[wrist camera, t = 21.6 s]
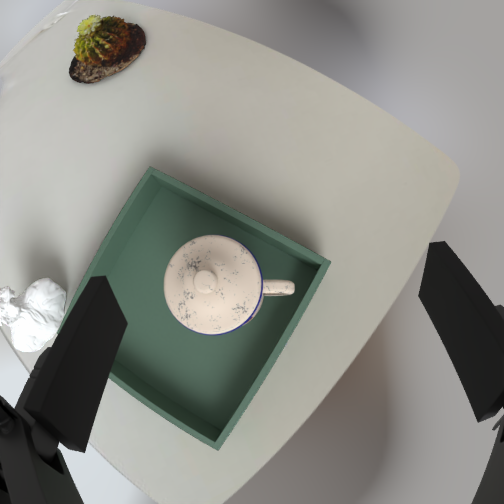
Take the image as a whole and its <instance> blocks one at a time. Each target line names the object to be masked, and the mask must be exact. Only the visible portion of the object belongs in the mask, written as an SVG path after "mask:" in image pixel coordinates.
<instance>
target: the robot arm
mask: <svg viewBox="0 0 504 504" xmlns="http://www.w3.org/2000/svg"><path fill="white" fill-rule="evenodd" d="M418 296H419V298H420V300H421V302H422V304H423V305H424V307H425V309H426V311H427V313H428V315H429V317H430V319H431V320H432V322H433V324H434V326H435V328H436V330H437V332H438V334H439V336H440V338H441V340H442V342H443V344H444V346H445V348H446V350H447V352H448V354H449V357H450V359H451V361H452V363H453V365H454V367H455V369H456V372H457V373H458V376H459V378H460V381H461V383H462V385H463V387H464V390H465V392H466V394H467V397H468V399H469V402H470V404H471V407H472V409H473V411H474V414H475V417H476V419H477V422H481V421H484V420H486V419H488V418H491V417H493V416H495V415H496V414H497V413H498V411H499V410H500V409H501V408H502V406H503V409H504V307H503V306H502V305H497V306H494V305H493V303H492V302H491V300H490V299H489V297H488V296H487V295H486V293H485V292H484V291H483V289H482V288H481V286H480V285H479V284H478V282H477V281H476V280H475V278H474V277H473V276H472V274H471V273H470V272H469V270H468V269H467V268H466V267H465V265H464V264H463V263H462V262H461V260H460V259H459V258H458V257H457V255H456V254H455V253H454V252H453V250H452V249H451V248H450V247H449V246H448V244H447V243H446V242H445V241H442V242H433V243H429V249H428V253H427V258H426V263H425V268H424V273H423V278H422V282H421V286H420V291H419V295H418ZM127 325H128V322H127V320H126V318H125V316H124V314H123V312H122V310H121V308H120V306H119V303H118V301H117V299H116V297H115V295H114V293H113V290H112V288H111V286H110V284H109V281H108V279H107V277H106V275H105V276H94V277H91V278H90V279H89V281H88V283H87V284H86V286H85V288H84V289H83V291H82V293H81V294H80V296H79V298H78V300H77V301H76V303H75V305H74V306H73V308H72V310H71V312H70V314H69V315H68V317H67V319H66V321H65V323H64V324H63V326H62V328H61V330H60V332H59V334H58V336H57V337H56V339H55V341H54V343H53V345H52V347H47V349H46V350H45V351H44V352H43V353H42V354H41V355H40V356H39V358H38V360H37V362H36V364H35V366H34V370H32V372H31V374H30V378H28V380H27V382H26V384H25V386H24V389H23V391H22V393H21V395H20V397H19V399H18V402H17V404H16V406H15V408H13V407H12V406H11V405H10V404H9V403H8V402H7V401H6V400H5V399H4V398H3V397H1V396H0V504H84V503H83V501H82V498H81V496H80V494H79V492H78V490H77V488H76V486H75V484H74V481H73V479H72V477H71V474H70V472H69V470H68V468H67V465H66V463H65V460H64V458H63V455H62V453H61V451H60V450H59V449H58V448H57V447H58V444H59V442H60V443H62V444H63V445H64V446H65V447H66V448H68V449H70V450H74V451H79V452H83V453H85V451H86V447H87V443H88V440H89V437H90V433H91V430H92V426H93V423H94V420H95V417H96V413H97V410H98V407H99V404H100V401H101V398H102V395H103V392H104V389H105V386H106V383H107V380H108V377H109V374H110V371H111V368H112V365H113V363H114V360H115V357H116V354H117V352H118V349H119V346H120V343H121V341H122V338H123V335H124V333H125V330H126V327H127ZM499 425H500V427H499V431H498V434H497V437H496V440H495V444H494V447H493V450H492V453H491V456H490V459H489V461H488V464H487V467H486V470H485V472H484V475H483V478H482V480H481V483H480V485H479V487H478V490H477V492H476V495H475V497H474V499H473V502H472V504H504V415H503V416H502V417H501V418H500V420H499V421H498V422H497V423H496V424H495V426H494V427H493V429H492V430H495V429H496V428H497V427H498V426H499Z"/></svg>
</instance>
